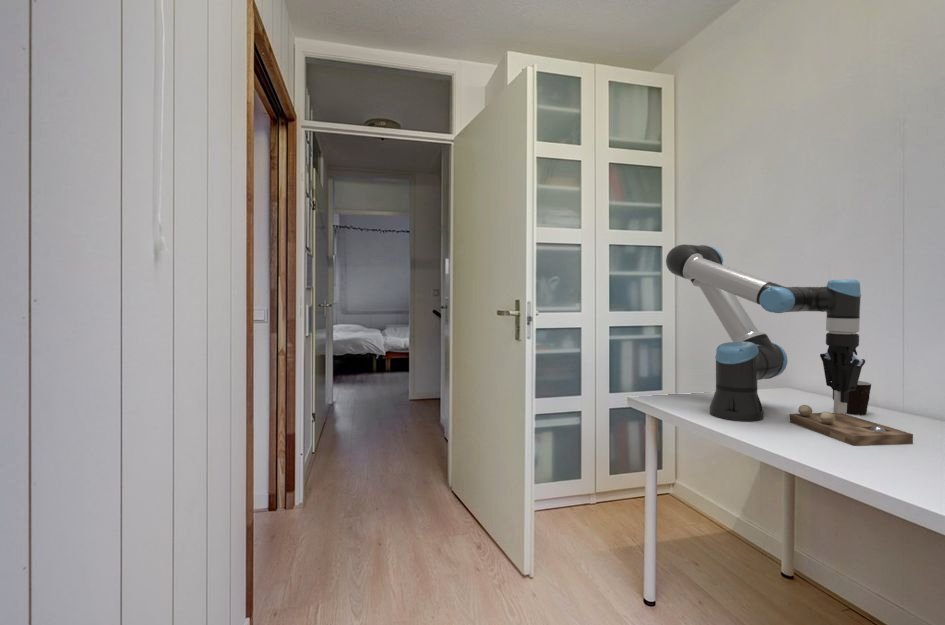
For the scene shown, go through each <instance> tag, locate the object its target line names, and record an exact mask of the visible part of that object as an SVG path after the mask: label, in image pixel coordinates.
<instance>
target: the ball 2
mask: <svg viewBox="0 0 945 625" xmlns="http://www.w3.org/2000/svg"><path fill="white" fill-rule="evenodd" d="M821 413H822V414H821V415H820V419H821V421H822V422H824V423H826V424H832V423H833V422H834V421H835V416H834V414H832V413H833V412H830V411H823V412H821Z"/></svg>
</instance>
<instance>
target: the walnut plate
mask: <svg viewBox="0 0 945 625" xmlns="http://www.w3.org/2000/svg"><path fill="white" fill-rule="evenodd" d="M822 413H823V412H812V414H811V415H810V416H802V415H801V414H800V413H789V423H792V424H793V425H796V424H797V425H796V426H800V427H802V428H805V429H807V428H808V429H807V430H810V431H813V432H816V433H819V434H820V435H823V436H826V437H829V438H831V439H835V440H837V441H839V442H840V441H841V442H842V443H845V444H849V445H851V446H883V445H884V446H885V445H889V446H890V445H909V444H911V445H913V444H914V434H913V433H911V432H906V431H904V430H900V429H897V428H894V427H889V426H887V425H883V424H880V423H876V422H873V421H870V420H867V419H863V418H860V417H856V416H854V415H851V414H846V413H835V412H831V413H832V414H834V416H835V421H834V422H833V423H832V424H826V423H824V422H822V421H821V419H820V415H821V414H822ZM873 426H880V427H882V428H884V429H885V430H886V432H875V431H872V430H870V429H871V428H872V427H873Z"/></svg>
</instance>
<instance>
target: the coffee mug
mask: <svg viewBox="0 0 945 625" xmlns="http://www.w3.org/2000/svg"><path fill="white" fill-rule="evenodd" d="M871 388H872V383H871V382H868V381H862V380H858V384H857V388H856V390H855V391H849V401H848V403H847V415H852V414H853V415H852V416H866V415H867V411H868V407H869V400H870V396H871V395H870V394H871Z"/></svg>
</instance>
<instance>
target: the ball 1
mask: <svg viewBox="0 0 945 625" xmlns="http://www.w3.org/2000/svg"><path fill="white" fill-rule="evenodd" d="M797 412H798V414H801V415H802V416H810V415H811V414H812V413H813V409H812V407H811V406H810V405H808V404H807V405H806V404H801V405H800V406H799V407H798V408H797Z"/></svg>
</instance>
